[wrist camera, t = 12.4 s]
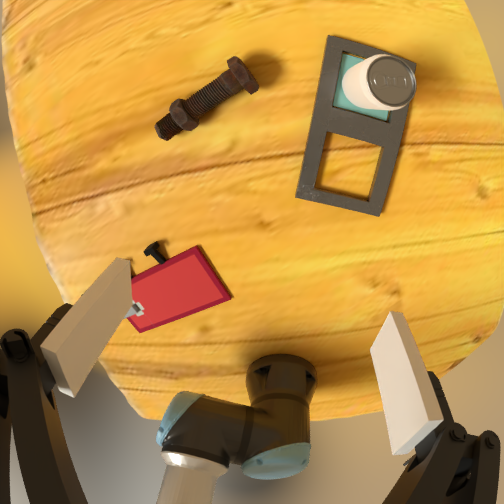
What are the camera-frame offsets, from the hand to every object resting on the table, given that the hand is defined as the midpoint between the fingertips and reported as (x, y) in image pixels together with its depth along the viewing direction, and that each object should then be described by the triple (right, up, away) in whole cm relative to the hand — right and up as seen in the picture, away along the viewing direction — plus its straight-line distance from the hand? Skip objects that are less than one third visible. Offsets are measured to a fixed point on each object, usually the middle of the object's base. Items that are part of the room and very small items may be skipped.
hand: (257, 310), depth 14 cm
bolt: (-7, +24, +25) cm, 35 cm away
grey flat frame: (+14, +20, +24) cm, 34 cm away
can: (+15, +26, +21) cm, 36 cm away
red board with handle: (-20, -4, +41) cm, 46 cm away
